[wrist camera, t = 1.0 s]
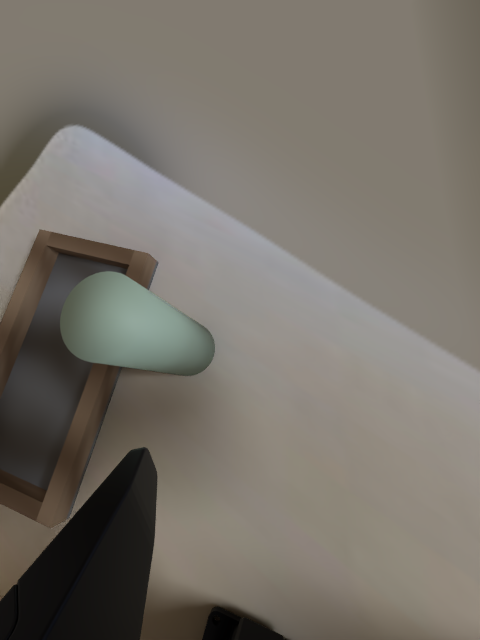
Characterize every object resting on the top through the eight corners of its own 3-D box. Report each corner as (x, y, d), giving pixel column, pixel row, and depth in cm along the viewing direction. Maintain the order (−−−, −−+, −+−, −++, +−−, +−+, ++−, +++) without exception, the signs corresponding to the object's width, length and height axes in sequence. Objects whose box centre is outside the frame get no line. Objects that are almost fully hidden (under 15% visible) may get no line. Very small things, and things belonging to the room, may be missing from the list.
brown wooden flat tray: (68, 518, 24) (50, 528, 22) (-38, 467, 26) (-62, 472, 24) (158, 262, 27) (148, 253, 25) (55, 239, 29) (39, 229, 27)
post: (205, 382, 24) (125, 374, 13) (156, 367, 25) (46, 348, 14) (221, 330, 24) (157, 282, 14) (173, 317, 25) (79, 263, 15)
